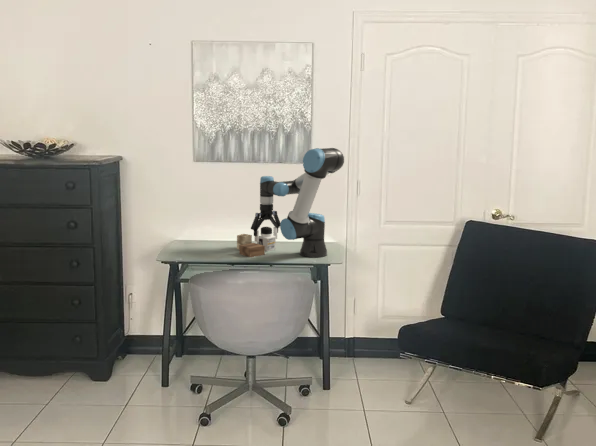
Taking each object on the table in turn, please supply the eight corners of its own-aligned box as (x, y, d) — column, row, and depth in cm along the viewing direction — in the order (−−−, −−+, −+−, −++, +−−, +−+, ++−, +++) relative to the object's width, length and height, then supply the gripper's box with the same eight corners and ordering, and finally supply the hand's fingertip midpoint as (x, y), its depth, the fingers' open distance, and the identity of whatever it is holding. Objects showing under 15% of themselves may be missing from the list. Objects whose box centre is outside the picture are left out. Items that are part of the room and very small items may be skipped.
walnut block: (264, 254, 353) (264, 245, 352) (250, 257, 346) (250, 248, 345) (253, 251, 360) (253, 242, 359) (239, 253, 354) (239, 245, 353)
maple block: (251, 248, 368) (251, 235, 366) (245, 250, 363) (245, 236, 361) (243, 247, 371) (243, 233, 369) (237, 249, 366) (236, 235, 365)
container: (267, 251, 361) (267, 229, 358) (256, 249, 365) (256, 227, 363) (275, 249, 367) (276, 227, 364) (265, 247, 371) (265, 225, 369)
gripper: (279, 200, 372) (278, 236, 376) (244, 204, 356) (244, 241, 360) (287, 202, 366) (286, 238, 370) (252, 206, 350) (252, 244, 354)
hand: (266, 240), depth 365 cm, fingers open, 13 cm apart
